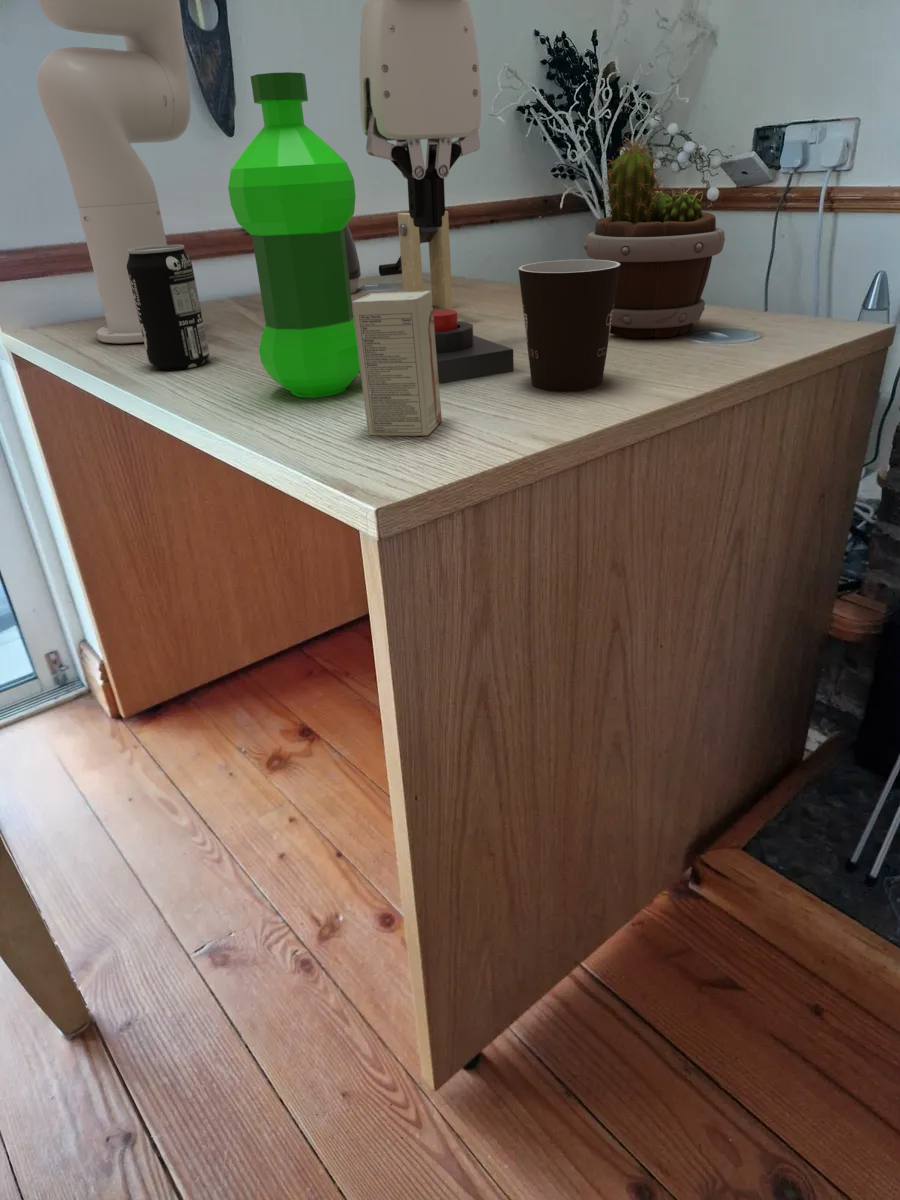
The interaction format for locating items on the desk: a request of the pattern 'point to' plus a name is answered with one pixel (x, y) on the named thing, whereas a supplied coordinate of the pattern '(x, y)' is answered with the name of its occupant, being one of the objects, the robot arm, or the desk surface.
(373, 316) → the medicine carton
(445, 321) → the button
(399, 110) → the robot arm
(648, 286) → the flowerpot
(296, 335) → the plastic bottle
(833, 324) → the desk surface
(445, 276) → the lever bracket
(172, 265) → the beverage can
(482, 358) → the control block
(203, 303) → the desk surface
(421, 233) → the lever
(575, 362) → the coffee mug
